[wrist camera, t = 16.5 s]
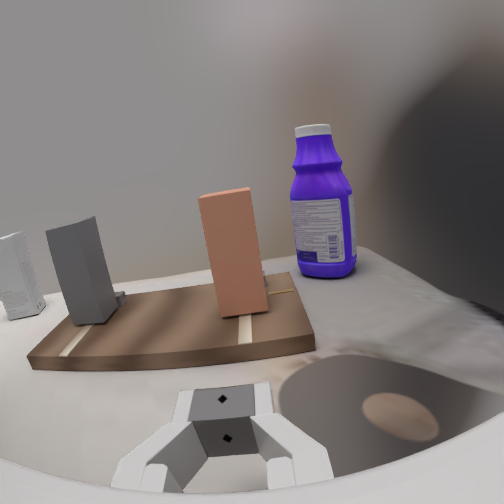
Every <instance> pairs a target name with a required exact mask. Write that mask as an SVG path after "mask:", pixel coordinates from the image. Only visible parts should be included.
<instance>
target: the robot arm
mask: <svg viewBox="0 0 504 504" xmlns="http://www.w3.org/2000/svg"><path fill="white" fill-rule="evenodd" d="M257 453H259V454H260V455H261V456H262V457H263V459H264V460H265V461H266V462H267V481H268V490H258V491H247V492H232V493H184V492H183V491H182V490H183V489H184V488H185V487H186V485H187V484H188V483H189V482H190V481H191V479H192V478H193V477H194V476H195V474H196V473H197V472H198V471H199V469H200V468H201V467H202V466H203V464H204V463H205V462H206V461H207V459H208V457H220V456H231V455H245V454H257ZM0 504H504V411H503V412H501V413H500V414H498V415H496V416H494V417H493V418H491V419H489V420H487V421H486V422H484V423H482V424H480V425H478V426H476V427H474V428H472V429H470V430H468V431H466V432H464V433H462V434H460V435H458V436H456V437H454V438H452V439H450V440H447V441H445V442H443V443H441V444H439V445H436V446H434V447H431V448H429V449H426V450H424V451H421V452H419V453H416V454H413V455H411V456H408V457H406V458H403V459H400V460H397V461H394V462H391V463H388V464H385V465H382V466H378V467H375V468H372V469H368V470H365V471H361V472H357V473H354V474H350V475H346V476H342V477H337V478H334V476H333V472H332V468H331V465H330V461H329V458H328V453H327V450H326V448H325V447H323V446H322V445H321V444H319V443H318V442H316V441H315V440H314V439H312V438H311V437H310V436H308V435H307V434H305V433H304V432H303V431H301V430H300V429H299V428H297V427H296V426H295V425H293V424H292V423H291V422H290V421H288V420H287V419H286V418H284V417H283V416H282V415H280V414H279V413H275V408H274V402H273V396H272V390H271V384H270V381H264V382H258V383H254V384H247V385H239V386H231V387H220V388H206V389H195V390H194V389H193V390H181V391H180V392H179V394H178V398H177V402H176V405H175V409H174V413H173V417H172V421H171V422H167V423H166V424H164V425H163V426H162V427H161V428H160V429H158V430H157V431H156V432H155V433H153V434H152V435H151V436H150V437H148V438H147V439H146V440H145V441H143V442H142V443H141V444H140V445H138V446H137V447H136V448H134V449H133V450H132V451H131V452H129V453H128V454H127V455H125V456H124V457H123V458H122V459H120V460H119V462H118V465H117V468H116V471H115V473H114V476H113V479H112V482H111V484H110V487H109V486H103V485H97V484H91V483H86V482H81V481H77V480H72V479H68V478H63V477H59V476H56V475H52V474H48V473H44V472H41V471H38V470H34V469H31V468H28V467H25V466H22V465H19V464H16V463H13V462H10V461H7V460H5V459H2V458H0Z"/></svg>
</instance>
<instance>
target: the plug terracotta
mask: <svg viewBox="0 0 504 504" xmlns="http://www.w3.org/2000/svg"><path fill="white" fill-rule="evenodd" d="M198 201H199V207H200V212H201V218H202V224H203V229H204V234H205V239H206V245H207V250H208V255H209V261H210V266H211V271H212V276H213V280H214V285H215V290H216V295H217V300H218V304H219V309H220V314H221V317H227V316H234V315H241V314H248V313H255V312H262V311H268V304H267V298H266V291H265V285H264V278H263V271H262V265H261V258H260V252H259V245H258V239H257V232H256V226H255V220H254V213H253V206H252V200H251V194H250V188H249V187H246V188H240V189H234V190H228V191H222V192H216V193H210V194H205V195H203V196H201V197H200V198H198Z"/></svg>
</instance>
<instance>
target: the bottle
mask: <svg viewBox="0 0 504 504" xmlns="http://www.w3.org/2000/svg"><path fill="white" fill-rule="evenodd" d="M295 135H296V144H297V152H296V158H295V161H294V163H293V168H294V169H295V171H296V176H295V179H294V181H293V184H292V187H291V191H290V199H291V208H292V216H293V225H294V232H295V242H296V251H297V261H298V265H299V268H300V270H301V272H302V273H304V274H305V275H309V276H315V277H327V278H337V277H343V276H345V275H347V274H349V273H350V271H351V270H352V269H353V268H354V265H355V262H356V253H357V248H356V230H355V217H354V204H353V194H352V190H351V187H350V184H349V182H348V180H347V179H346V177H345V176H344V174H343V173H342V170H341V165H342V160H341V159H340V157H339V156H338V154H337V152H336V150H335V148H334V145H333V141H332V136H331V135H332V134H331V130H330V125H328V124H317V125H307V126H301V127H298V128H295Z"/></svg>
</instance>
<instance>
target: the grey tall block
mask: <svg viewBox="0 0 504 504" xmlns="http://www.w3.org/2000/svg"><path fill="white" fill-rule="evenodd" d="M46 236H47V240H48V244H49V248H50V252H51V256H52V260H53V263H54V267H55V270H56V274H57V277H58V280H59V284H60V287H61V290H62V293H63V296H64V299H65V302H66V305H67V308H68V311H69V314H70V317H71V319H72V322H73V325H78V324H92V323H104V322H105V321H106V320H107V319H108V318H109V316H110V315H111V314H112V313H113V312H114V311H115V309H116V308H117V307H118V303H117V300H116V297H115V293H114V290H113V287H112V283H111V280H110V276H109V272H108V269H107V265H106V261H105V257H104V253H103V249H102V245H101V241H100V237H99V233H98V228H97V224H96V219H95V216H94V217H90V218H86V219H81V220H77V221H74V222H69V223H66V224H63V225H60V226H58V227H55V228H52V229H49V230H47V231H46Z"/></svg>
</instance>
